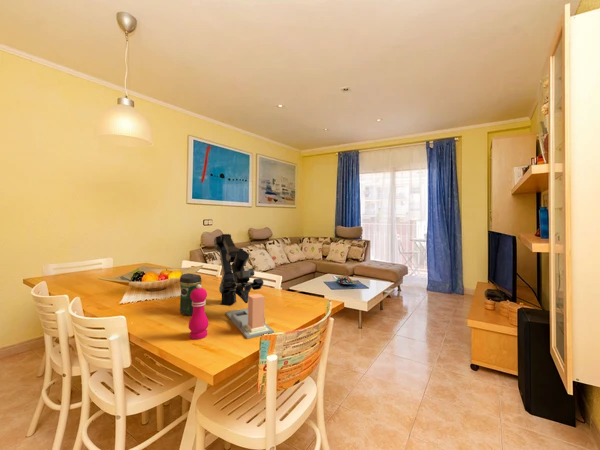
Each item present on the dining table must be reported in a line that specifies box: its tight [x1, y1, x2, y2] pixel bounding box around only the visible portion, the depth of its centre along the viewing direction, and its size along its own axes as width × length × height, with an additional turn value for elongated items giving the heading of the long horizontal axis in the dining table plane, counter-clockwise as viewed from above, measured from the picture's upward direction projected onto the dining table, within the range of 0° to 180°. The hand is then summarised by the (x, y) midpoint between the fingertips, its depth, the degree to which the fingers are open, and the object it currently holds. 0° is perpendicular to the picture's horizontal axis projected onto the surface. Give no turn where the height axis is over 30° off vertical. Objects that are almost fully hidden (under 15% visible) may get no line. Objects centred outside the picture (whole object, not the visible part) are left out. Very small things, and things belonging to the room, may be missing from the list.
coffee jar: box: [179, 273, 202, 316], centre depth 129 cm, size 10×8×19 cm
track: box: [225, 307, 275, 340], centre depth 118 cm, size 30×11×3 cm, turn 30°
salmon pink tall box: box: [246, 293, 266, 332], centre depth 109 cm, size 6×6×13 cm
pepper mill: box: [188, 284, 210, 340], centre depth 104 cm, size 7×7×20 cm
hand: (246, 302), depth 119 cm, fingers closed
